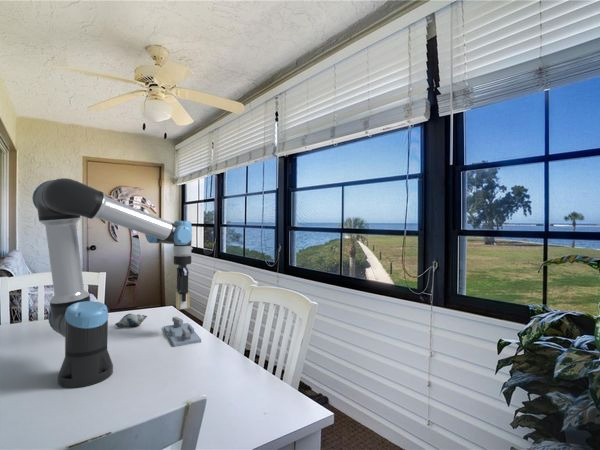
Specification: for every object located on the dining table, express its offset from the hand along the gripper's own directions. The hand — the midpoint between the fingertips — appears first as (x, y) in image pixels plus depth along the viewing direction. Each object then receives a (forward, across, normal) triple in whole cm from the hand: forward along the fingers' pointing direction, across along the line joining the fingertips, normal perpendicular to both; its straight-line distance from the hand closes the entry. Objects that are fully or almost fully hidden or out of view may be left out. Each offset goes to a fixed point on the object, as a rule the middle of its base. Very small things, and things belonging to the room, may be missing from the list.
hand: (182, 306), depth 150 cm
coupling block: (0, 0, 0) cm, 0 cm away
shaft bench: (+13, 0, 0) cm, 13 cm away
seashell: (+13, +23, +19) cm, 33 cm away
